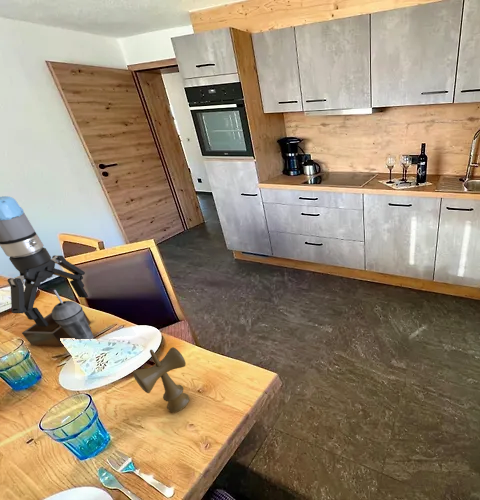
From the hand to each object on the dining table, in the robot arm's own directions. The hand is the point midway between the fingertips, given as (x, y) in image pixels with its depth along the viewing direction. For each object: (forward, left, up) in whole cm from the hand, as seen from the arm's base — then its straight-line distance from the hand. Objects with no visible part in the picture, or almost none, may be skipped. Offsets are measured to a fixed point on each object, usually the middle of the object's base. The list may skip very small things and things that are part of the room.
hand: (64, 310), depth 92 cm
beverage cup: (0, 0, -13) cm, 13 cm away
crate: (-11, +2, -13) cm, 17 cm away
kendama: (+47, -21, -13) cm, 53 cm away
